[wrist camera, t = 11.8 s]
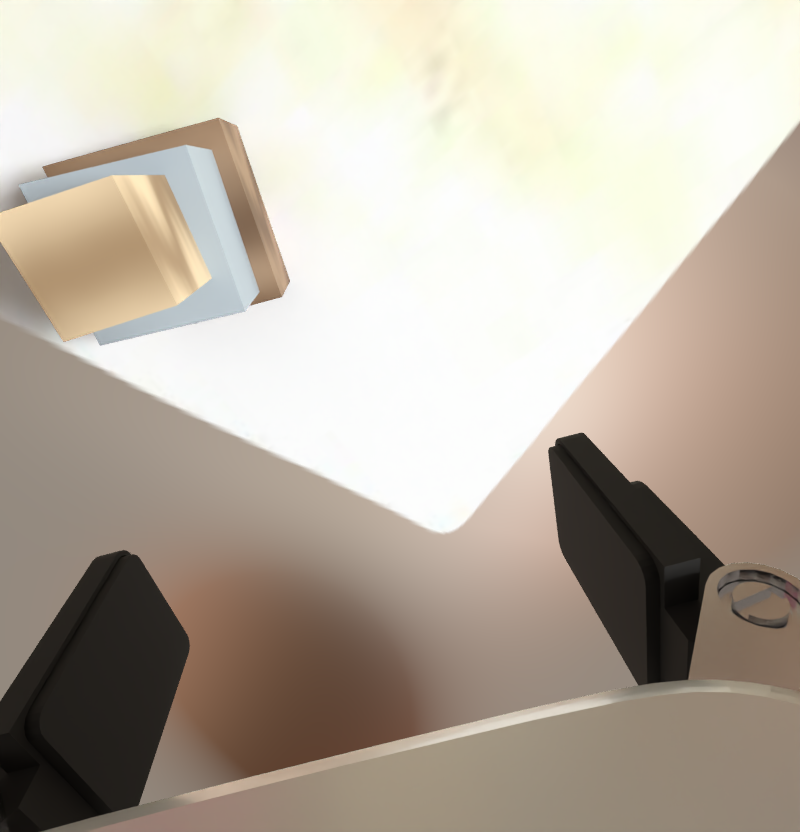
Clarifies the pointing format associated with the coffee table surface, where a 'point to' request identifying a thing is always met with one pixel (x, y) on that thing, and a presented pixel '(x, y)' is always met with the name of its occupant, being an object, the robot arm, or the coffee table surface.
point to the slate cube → (207, 221)
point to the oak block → (104, 252)
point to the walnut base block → (236, 183)
